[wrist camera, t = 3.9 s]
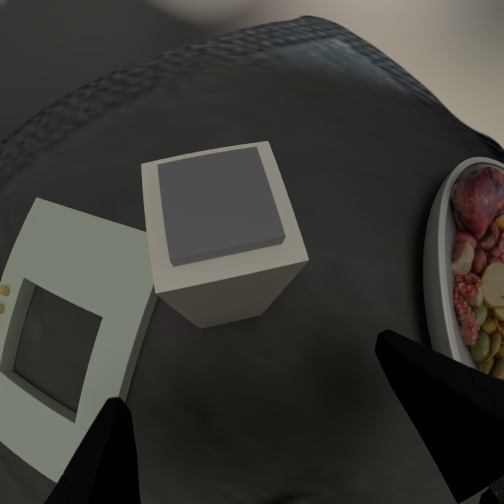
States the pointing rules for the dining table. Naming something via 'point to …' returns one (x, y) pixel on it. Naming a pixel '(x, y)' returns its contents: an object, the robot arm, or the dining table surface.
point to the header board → (86, 296)
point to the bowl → (467, 266)
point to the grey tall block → (220, 232)
